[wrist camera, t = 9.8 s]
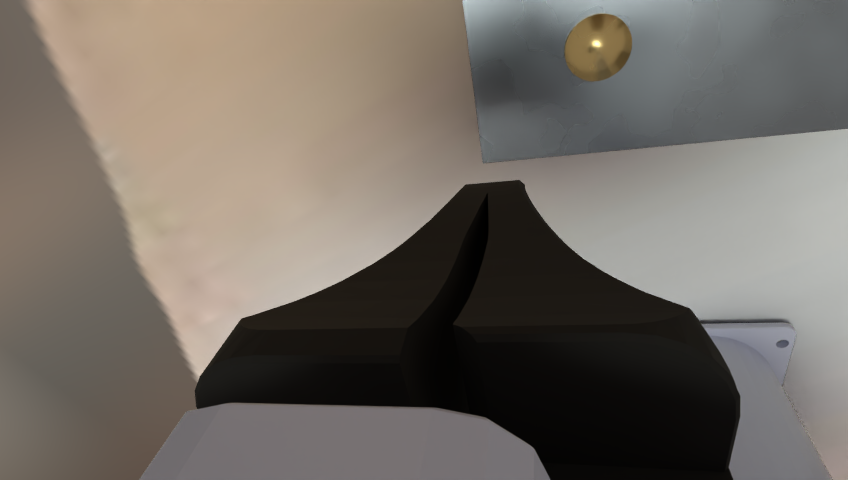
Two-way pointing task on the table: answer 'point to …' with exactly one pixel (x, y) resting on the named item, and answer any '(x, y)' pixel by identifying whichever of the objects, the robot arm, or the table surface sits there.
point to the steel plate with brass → (652, 72)
